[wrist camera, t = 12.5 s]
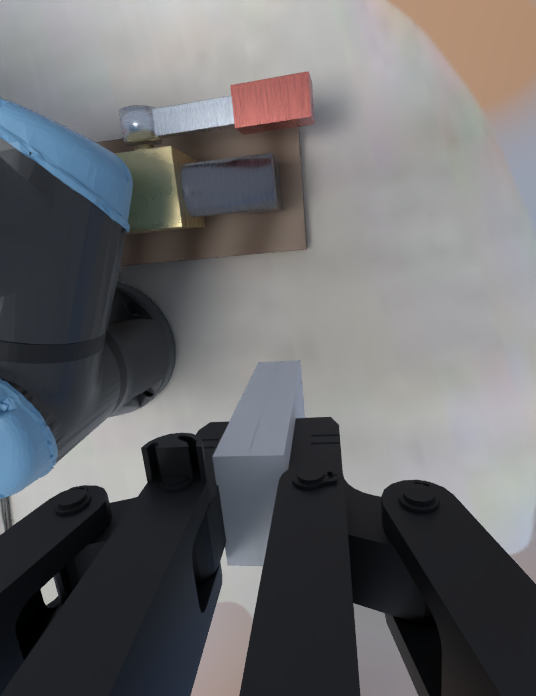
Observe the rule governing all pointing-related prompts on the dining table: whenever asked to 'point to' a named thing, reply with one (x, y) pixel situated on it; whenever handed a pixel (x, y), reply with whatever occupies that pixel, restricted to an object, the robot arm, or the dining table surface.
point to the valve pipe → (197, 188)
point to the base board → (236, 228)
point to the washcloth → (4, 515)
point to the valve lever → (226, 111)
